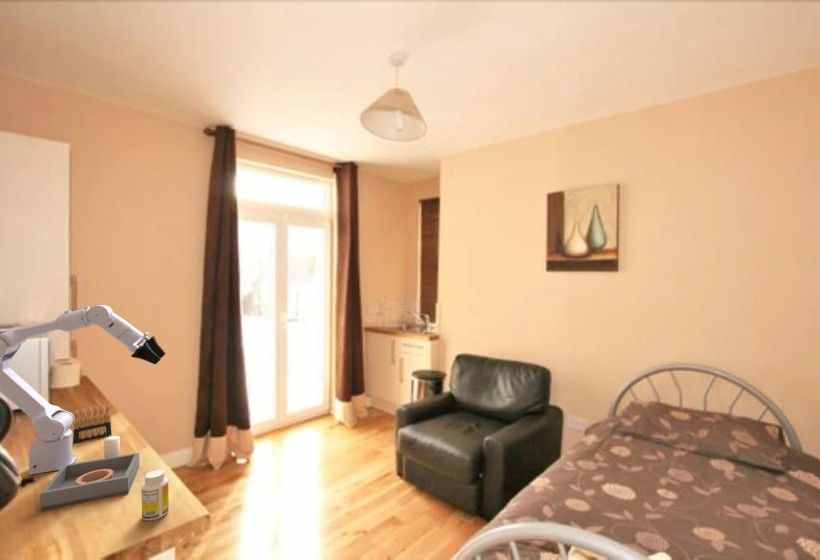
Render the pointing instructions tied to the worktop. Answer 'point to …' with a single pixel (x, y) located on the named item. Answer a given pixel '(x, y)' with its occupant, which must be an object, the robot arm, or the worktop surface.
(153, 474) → the supplement bottle
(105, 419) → the ammunition clip
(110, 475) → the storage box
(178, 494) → the worktop surface
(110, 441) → the peg
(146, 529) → the worktop surface
